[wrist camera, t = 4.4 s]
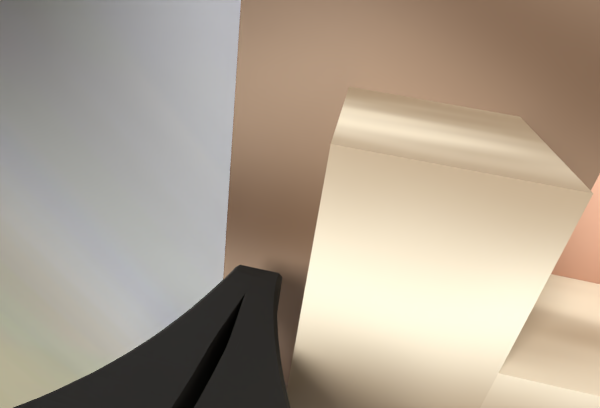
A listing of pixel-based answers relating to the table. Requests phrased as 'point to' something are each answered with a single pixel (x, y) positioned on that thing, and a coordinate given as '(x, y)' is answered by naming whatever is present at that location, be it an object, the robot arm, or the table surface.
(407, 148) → the t block
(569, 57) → the brown rectangular board
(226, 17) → the table surface
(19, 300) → the table surface
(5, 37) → the table surface
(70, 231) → the table surface
